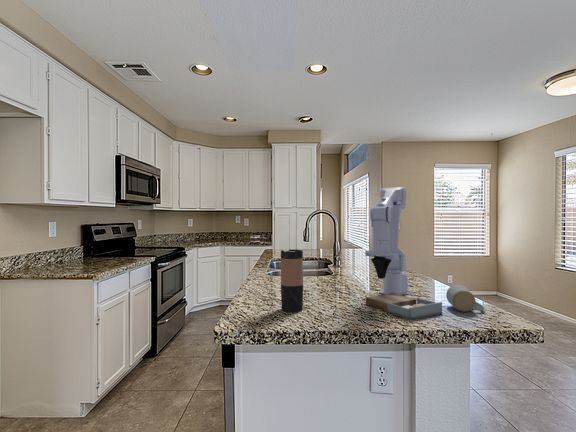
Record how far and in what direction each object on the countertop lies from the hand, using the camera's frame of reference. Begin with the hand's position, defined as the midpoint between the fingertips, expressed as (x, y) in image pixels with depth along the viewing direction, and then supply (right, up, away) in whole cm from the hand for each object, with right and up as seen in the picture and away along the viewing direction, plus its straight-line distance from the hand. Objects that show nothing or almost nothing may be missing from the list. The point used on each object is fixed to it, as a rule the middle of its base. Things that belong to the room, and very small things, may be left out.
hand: (381, 278), depth 116 cm
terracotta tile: (+10, -8, -10) cm, 16 cm away
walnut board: (+3, -9, -1) cm, 10 cm away
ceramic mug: (+26, -9, -7) cm, 29 cm away
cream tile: (+5, -8, -12) cm, 15 cm away
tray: (+8, -9, -10) cm, 16 cm away
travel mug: (-32, -10, -5) cm, 34 cm away
